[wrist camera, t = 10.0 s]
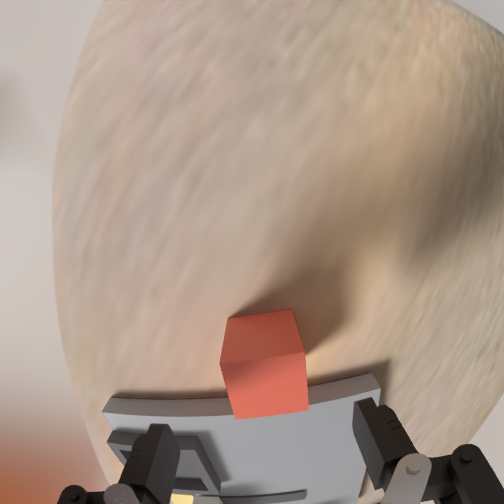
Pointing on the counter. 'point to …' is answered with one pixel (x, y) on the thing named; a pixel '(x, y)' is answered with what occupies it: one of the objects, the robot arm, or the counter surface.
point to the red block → (264, 365)
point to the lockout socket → (189, 467)
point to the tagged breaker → (206, 500)
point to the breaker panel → (267, 443)
